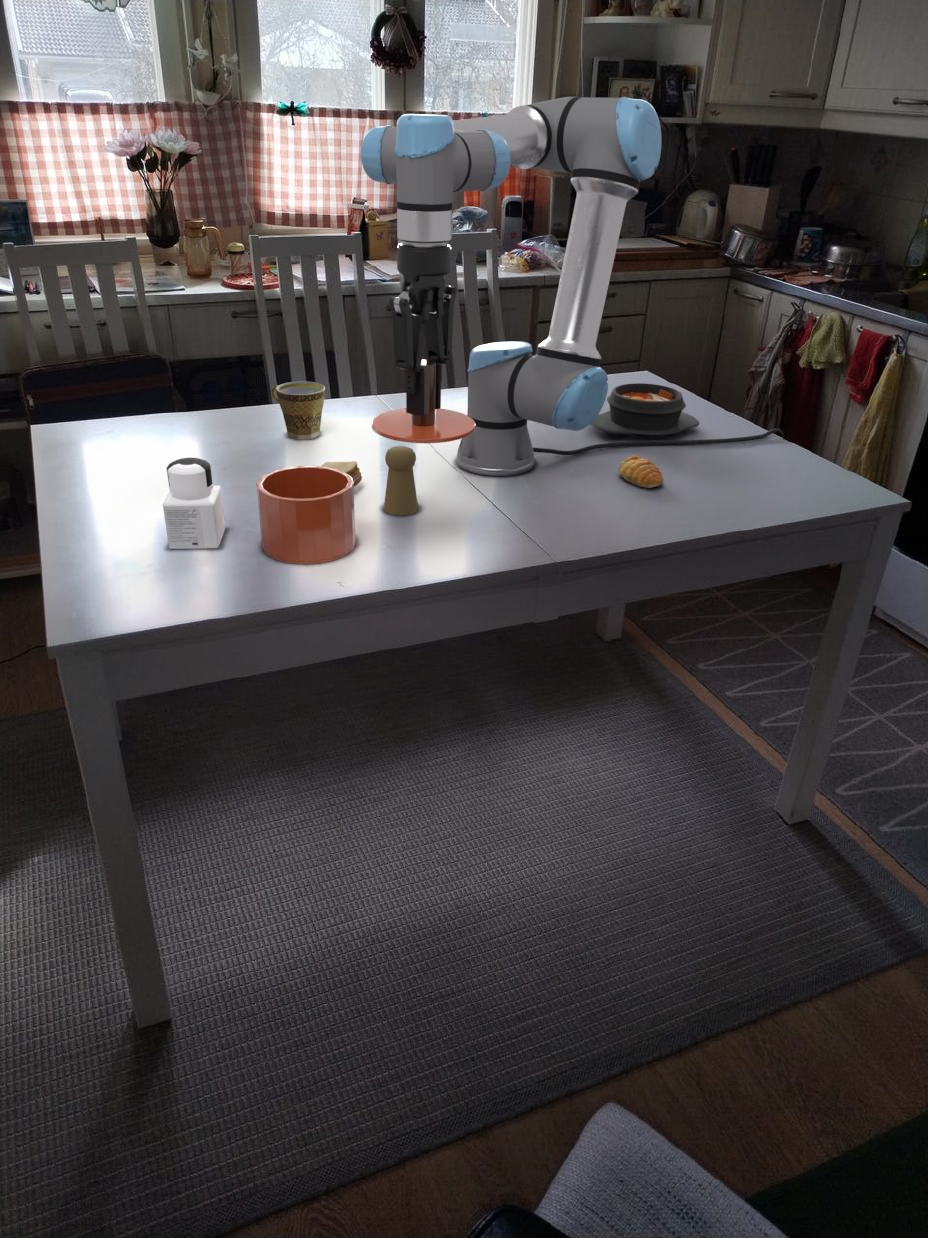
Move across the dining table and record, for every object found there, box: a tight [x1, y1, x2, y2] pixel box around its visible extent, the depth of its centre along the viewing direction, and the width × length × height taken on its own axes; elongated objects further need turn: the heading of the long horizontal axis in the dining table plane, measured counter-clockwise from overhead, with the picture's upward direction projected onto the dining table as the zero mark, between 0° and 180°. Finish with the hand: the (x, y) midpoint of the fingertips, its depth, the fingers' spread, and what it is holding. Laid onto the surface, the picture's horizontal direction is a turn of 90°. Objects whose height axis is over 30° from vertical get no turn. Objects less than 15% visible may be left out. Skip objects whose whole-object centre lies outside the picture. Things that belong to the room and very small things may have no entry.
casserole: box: [590, 382, 700, 438], centre depth 201 cm, size 25×19×8 cm
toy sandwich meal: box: [320, 460, 363, 488], centre depth 167 cm, size 12×14×5 cm
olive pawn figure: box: [383, 445, 419, 517], centre depth 158 cm, size 6×6×11 cm
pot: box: [256, 465, 357, 565], centre depth 145 cm, size 15×15×10 cm
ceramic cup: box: [271, 380, 326, 441], centre depth 192 cm, size 13×10×10 cm
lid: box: [371, 358, 475, 444], centre depth 136 cm, size 16×16×10 cm
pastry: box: [618, 455, 664, 489], centre depth 174 cm, size 9×7×4 cm
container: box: [162, 457, 226, 550], centre depth 144 cm, size 8×8×13 cm
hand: (423, 410), depth 137 cm, fingers closed on lid, 4 cm apart
